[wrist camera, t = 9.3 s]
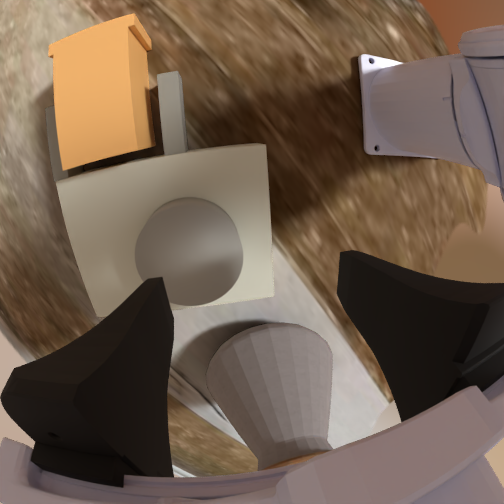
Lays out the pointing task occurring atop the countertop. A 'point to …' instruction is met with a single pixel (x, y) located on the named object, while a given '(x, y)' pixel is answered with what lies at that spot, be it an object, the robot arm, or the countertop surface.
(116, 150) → the orange lidded tapered block
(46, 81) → the countertop surface
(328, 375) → the grey faceted tapered shape
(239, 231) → the grey stand
